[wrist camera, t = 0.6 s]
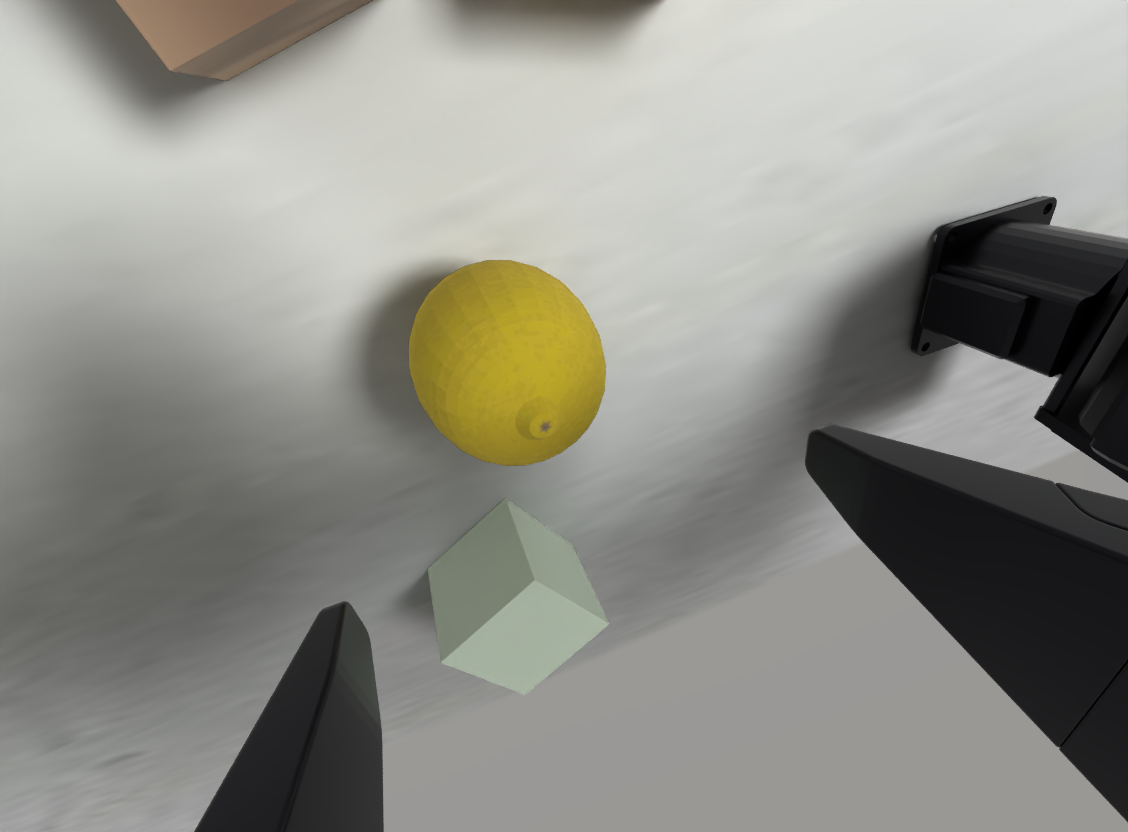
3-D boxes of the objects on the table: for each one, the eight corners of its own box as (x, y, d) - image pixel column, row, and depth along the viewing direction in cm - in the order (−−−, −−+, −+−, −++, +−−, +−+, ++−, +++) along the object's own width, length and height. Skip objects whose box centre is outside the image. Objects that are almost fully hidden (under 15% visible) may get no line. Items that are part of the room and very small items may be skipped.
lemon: (496, 407, 21) (558, 545, 14) (368, 335, 18) (372, 469, 11) (582, 295, 20) (692, 390, 13) (461, 198, 17) (525, 260, 10)
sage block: (504, 497, 23) (534, 580, 19) (571, 543, 26) (609, 623, 22) (427, 567, 24) (440, 662, 20) (500, 605, 27) (525, 695, 23)
